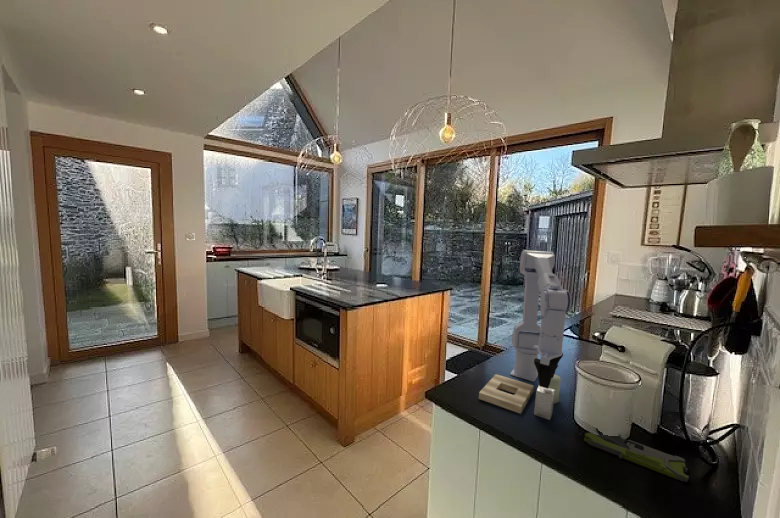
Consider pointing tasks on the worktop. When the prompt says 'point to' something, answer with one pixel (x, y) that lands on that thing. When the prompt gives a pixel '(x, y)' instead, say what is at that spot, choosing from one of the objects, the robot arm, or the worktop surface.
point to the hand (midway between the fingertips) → (546, 381)
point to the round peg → (555, 387)
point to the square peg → (544, 402)
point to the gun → (640, 455)
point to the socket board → (504, 399)
